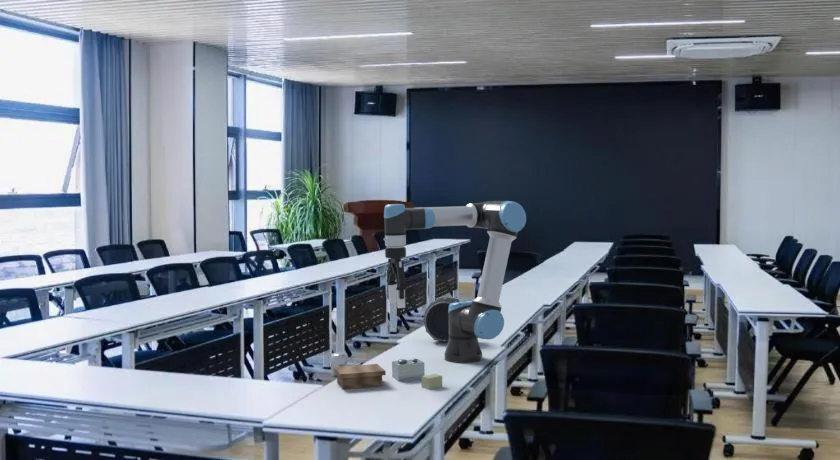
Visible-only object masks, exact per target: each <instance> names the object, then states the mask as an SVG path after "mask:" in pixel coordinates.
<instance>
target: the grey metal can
mask: <svg viewBox="0 0 840 460" xmlns="http://www.w3.org/2000/svg"><path fill="white" fill-rule="evenodd" d="M342 366H348V353H347V352H333V353H330V374H331V375H330V376H331V377H333V378H337V374H336V373H335V372H334V367H342Z"/></svg>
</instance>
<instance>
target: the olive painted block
mask: <svg viewBox="0 0 840 460" xmlns="http://www.w3.org/2000/svg"><path fill="white" fill-rule="evenodd" d="M421 388H422V389H426V390H433V389H438V388H443V375H441V374H437V373H433V374H427V375H425V376H422V379H421Z"/></svg>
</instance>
